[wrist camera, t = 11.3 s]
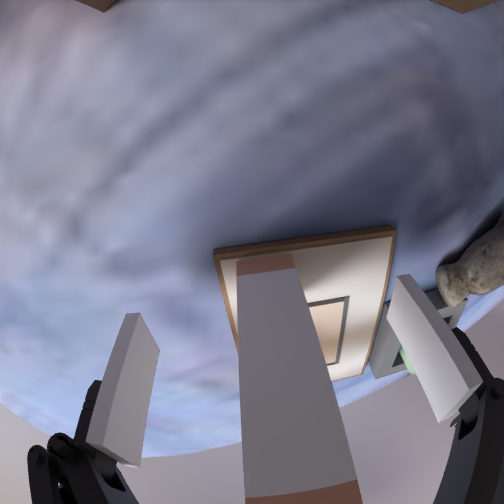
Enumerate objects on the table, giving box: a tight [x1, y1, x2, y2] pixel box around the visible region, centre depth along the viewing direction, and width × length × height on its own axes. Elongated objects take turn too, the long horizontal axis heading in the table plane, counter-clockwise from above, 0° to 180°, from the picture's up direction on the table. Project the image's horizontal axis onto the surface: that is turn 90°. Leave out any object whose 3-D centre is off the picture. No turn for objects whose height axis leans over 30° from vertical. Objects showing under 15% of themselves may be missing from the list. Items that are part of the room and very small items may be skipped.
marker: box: [236, 255, 363, 504], centre depth 9 cm, size 3×3×12 cm
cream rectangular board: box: [213, 225, 397, 382], centre depth 17 cm, size 14×10×1 cm
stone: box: [436, 212, 504, 307], centre depth 13 cm, size 10×5×8 cm
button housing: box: [368, 289, 468, 379], centre depth 18 cm, size 7×7×2 cm
